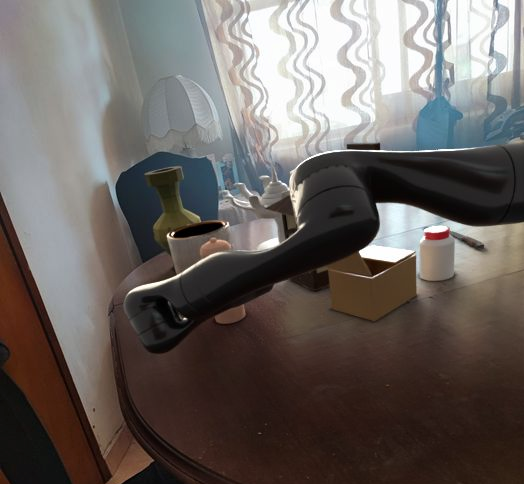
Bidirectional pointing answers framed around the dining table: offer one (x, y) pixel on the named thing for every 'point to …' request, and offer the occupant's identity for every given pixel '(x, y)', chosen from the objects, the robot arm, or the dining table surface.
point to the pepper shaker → (233, 313)
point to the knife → (466, 239)
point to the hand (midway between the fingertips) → (312, 248)
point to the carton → (375, 283)
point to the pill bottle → (436, 254)
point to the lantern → (284, 206)
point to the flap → (352, 265)
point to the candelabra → (263, 204)
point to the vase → (169, 204)
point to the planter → (195, 241)
